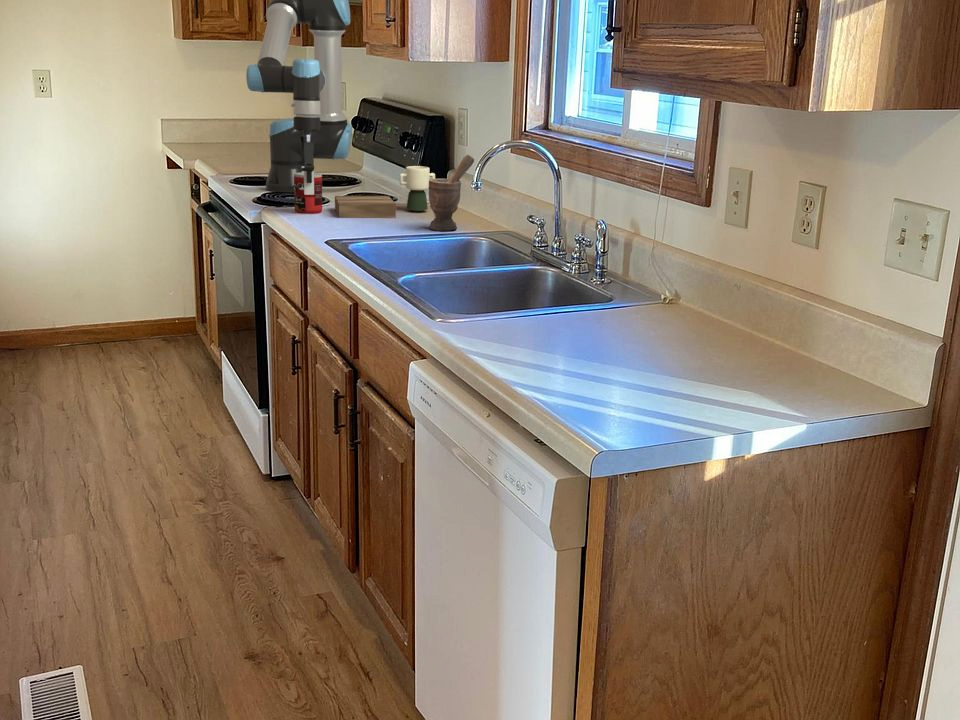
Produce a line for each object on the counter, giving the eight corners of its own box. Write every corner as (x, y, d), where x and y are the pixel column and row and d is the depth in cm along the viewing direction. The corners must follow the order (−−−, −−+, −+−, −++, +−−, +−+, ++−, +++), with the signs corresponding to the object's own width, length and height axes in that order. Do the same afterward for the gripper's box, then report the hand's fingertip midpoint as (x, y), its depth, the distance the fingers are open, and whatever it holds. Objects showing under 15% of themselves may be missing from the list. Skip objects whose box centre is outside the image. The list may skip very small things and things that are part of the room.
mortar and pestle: (461, 225, 277) (463, 152, 272) (475, 230, 270) (477, 155, 264) (423, 227, 272) (424, 152, 266) (436, 232, 265) (437, 155, 259)
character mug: (430, 209, 304) (431, 165, 300) (438, 212, 298) (438, 168, 294) (396, 210, 301) (396, 166, 297) (402, 213, 294) (403, 168, 290)
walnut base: (335, 209, 298) (334, 195, 297) (388, 209, 301) (388, 195, 300) (339, 217, 283) (339, 203, 282) (395, 217, 286) (395, 203, 285)
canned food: (291, 210, 293) (290, 172, 290) (318, 209, 297) (317, 172, 293) (298, 214, 287) (297, 175, 283) (325, 213, 290) (325, 175, 287)
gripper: (291, 113, 295) (293, 186, 300) (295, 117, 271) (296, 196, 277) (317, 114, 296) (318, 186, 302) (323, 118, 273) (323, 197, 279)
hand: (308, 191), depth 290 cm, fingers open, 13 cm apart
